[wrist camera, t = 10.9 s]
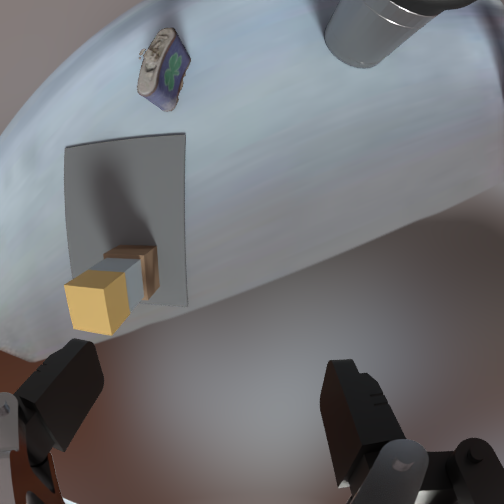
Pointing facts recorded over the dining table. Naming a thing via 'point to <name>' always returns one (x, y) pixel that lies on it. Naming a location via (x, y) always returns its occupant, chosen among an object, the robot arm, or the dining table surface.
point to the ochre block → (98, 301)
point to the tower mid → (126, 276)
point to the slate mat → (129, 206)
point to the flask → (163, 70)
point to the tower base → (147, 264)
